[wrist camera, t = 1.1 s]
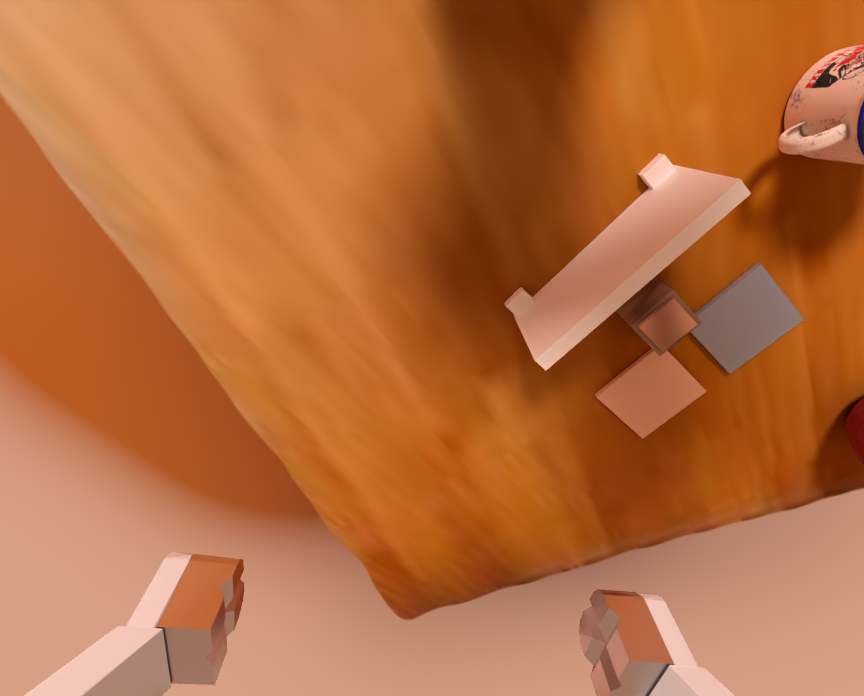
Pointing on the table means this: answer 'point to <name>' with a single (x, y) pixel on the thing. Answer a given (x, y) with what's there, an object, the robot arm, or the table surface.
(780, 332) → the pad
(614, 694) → the robot arm
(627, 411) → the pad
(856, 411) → the apple
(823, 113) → the teacup with lid
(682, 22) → the table surface
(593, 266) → the screen
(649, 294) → the cube with pink top
